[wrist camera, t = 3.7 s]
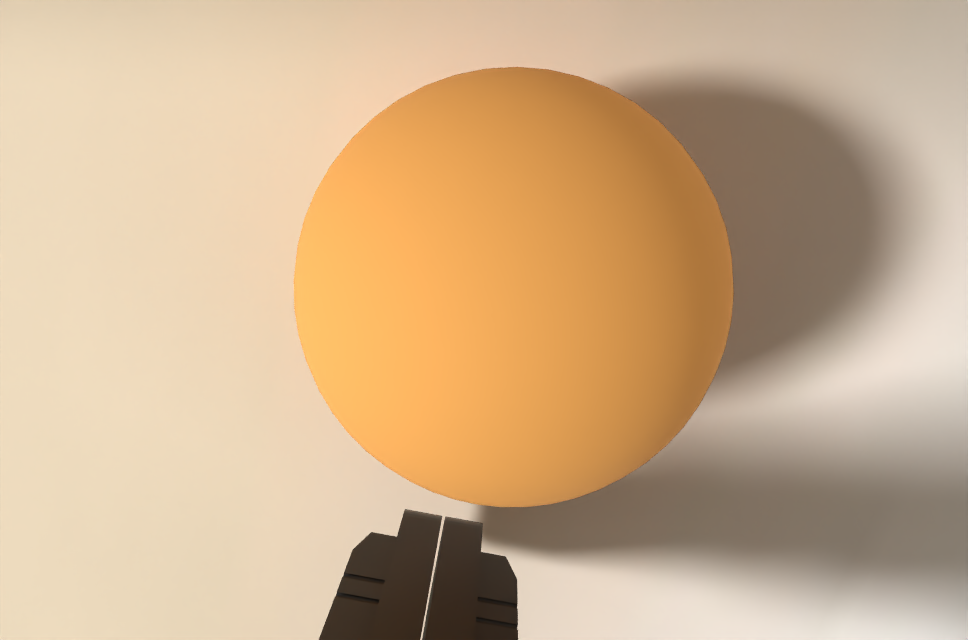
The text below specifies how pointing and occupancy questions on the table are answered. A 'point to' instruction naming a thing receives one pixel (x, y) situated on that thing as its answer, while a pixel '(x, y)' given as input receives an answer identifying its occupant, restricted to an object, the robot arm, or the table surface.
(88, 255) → the table surface
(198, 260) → the table surface
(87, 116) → the table surface
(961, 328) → the table surface
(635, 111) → the ball
